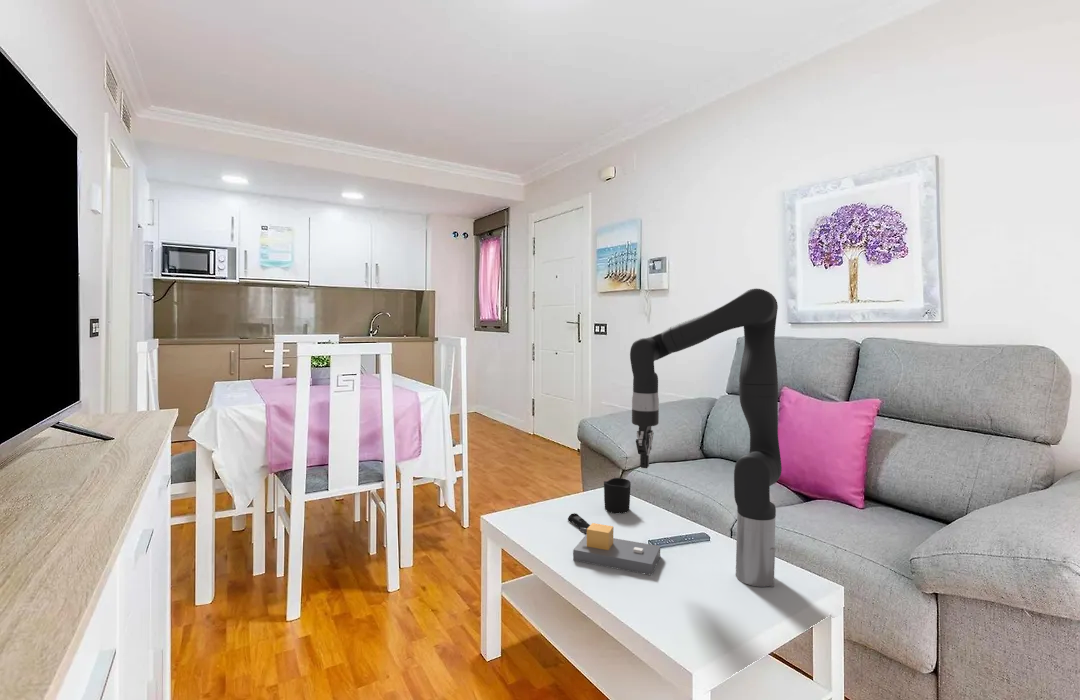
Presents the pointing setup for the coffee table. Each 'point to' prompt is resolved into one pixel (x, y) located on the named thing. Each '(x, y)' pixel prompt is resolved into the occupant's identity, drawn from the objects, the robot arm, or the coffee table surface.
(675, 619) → the coffee table surface
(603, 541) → the plug
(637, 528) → the coffee table surface
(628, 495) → the pen holder
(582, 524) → the electric trimmer
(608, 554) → the socket board
